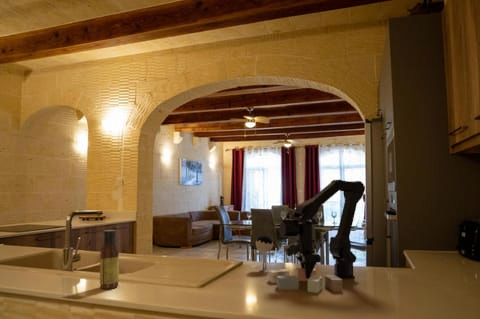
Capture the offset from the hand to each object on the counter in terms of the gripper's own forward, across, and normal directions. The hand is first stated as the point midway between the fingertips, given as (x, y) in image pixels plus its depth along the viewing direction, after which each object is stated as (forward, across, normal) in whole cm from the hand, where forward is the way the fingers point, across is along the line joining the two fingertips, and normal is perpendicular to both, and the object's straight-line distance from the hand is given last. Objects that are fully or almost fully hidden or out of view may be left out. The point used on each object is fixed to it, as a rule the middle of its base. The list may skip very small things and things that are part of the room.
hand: (306, 277), depth 135 cm
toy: (+1, -20, -13) cm, 24 cm away
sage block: (+1, +14, -1) cm, 14 cm away
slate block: (+1, +11, -10) cm, 15 cm away
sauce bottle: (+1, +5, -73) cm, 73 cm away
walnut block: (+1, +13, +6) cm, 14 cm away
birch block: (+1, +1, -11) cm, 11 cm away
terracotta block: (+1, 0, 0) cm, 1 cm away
